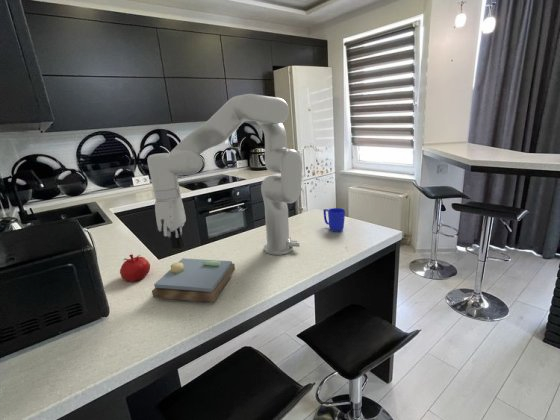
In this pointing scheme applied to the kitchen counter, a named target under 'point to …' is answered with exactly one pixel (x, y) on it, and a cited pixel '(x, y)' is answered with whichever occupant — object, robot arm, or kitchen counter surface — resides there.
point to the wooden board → (193, 294)
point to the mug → (335, 218)
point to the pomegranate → (134, 268)
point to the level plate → (194, 275)
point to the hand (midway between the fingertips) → (178, 247)
